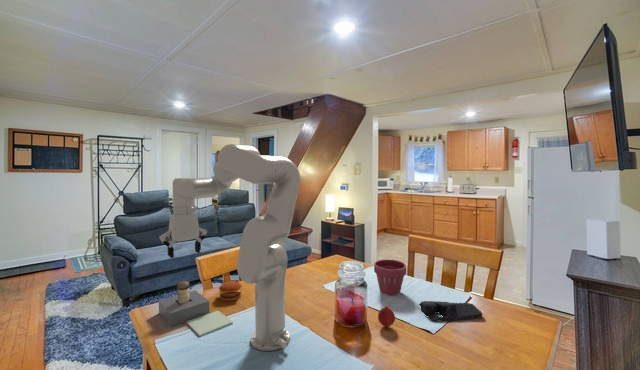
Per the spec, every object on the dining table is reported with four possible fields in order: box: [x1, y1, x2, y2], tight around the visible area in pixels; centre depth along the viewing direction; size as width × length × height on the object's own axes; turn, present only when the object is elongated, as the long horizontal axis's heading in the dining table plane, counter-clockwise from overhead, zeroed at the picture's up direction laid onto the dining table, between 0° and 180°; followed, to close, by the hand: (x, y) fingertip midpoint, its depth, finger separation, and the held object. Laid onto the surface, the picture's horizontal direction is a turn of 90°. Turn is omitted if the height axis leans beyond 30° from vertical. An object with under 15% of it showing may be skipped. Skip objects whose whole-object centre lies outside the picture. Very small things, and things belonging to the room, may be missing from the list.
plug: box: [176, 280, 190, 305], centre depth 114 cm, size 4×4×12 cm
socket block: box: [158, 289, 210, 328], centre depth 114 cm, size 14×14×5 cm
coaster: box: [185, 310, 234, 337], centre depth 107 cm, size 12×12×1 cm
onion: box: [377, 304, 396, 328], centre depth 104 cm, size 6×6×8 cm
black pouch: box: [418, 300, 483, 322], centre depth 116 cm, size 15×22×5 cm
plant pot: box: [373, 259, 407, 296], centre depth 134 cm, size 14×14×13 cm
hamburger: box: [218, 280, 243, 303], centre depth 129 cm, size 9×10×7 cm
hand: (184, 254), depth 114 cm, fingers open, 9 cm apart
